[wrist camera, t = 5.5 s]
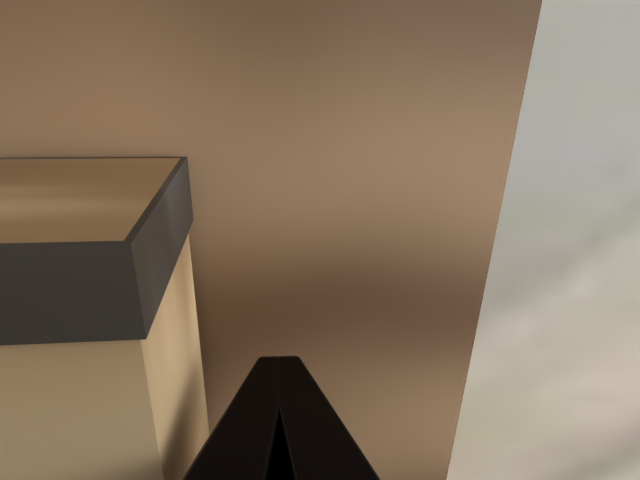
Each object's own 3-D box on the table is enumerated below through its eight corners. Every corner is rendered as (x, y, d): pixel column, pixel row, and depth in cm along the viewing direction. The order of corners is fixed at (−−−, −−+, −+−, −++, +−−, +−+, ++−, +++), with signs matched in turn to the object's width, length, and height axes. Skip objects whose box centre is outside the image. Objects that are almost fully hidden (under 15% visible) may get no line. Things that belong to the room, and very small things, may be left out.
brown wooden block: (405, 501, 17) (456, 678, 12) (86, 523, 16) (11, 727, 11) (501, -123, 9) (723, -268, 5) (-90, -165, 8) (-537, -406, 4)
